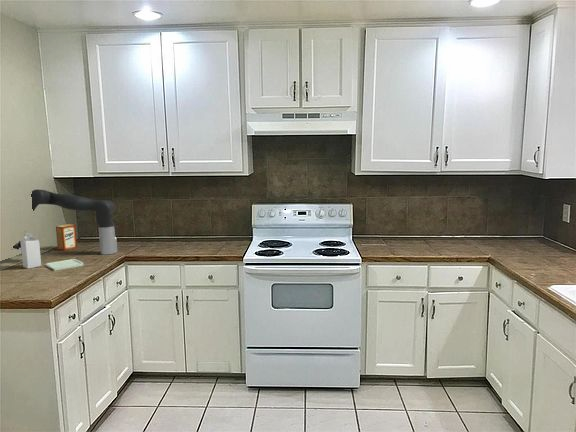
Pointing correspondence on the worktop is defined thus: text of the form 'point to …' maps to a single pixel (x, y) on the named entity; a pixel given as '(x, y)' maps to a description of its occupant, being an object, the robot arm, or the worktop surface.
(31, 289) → the worktop surface
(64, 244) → the baking soda box
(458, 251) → the worktop surface
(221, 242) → the worktop surface
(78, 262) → the tray
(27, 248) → the milk carton
